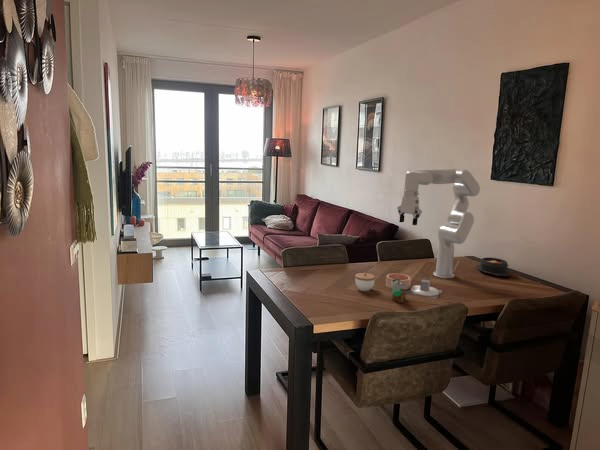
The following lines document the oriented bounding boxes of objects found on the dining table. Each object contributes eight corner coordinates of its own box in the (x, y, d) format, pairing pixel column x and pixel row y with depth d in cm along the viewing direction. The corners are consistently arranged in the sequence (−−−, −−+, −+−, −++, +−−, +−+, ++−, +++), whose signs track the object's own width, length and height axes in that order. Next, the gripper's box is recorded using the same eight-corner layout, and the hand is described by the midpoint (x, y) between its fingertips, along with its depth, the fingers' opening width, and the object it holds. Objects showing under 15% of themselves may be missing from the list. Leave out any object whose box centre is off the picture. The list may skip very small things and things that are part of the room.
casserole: (518, 278, 270) (520, 265, 269) (492, 279, 266) (494, 266, 265) (492, 267, 294) (494, 255, 293) (468, 267, 290) (469, 255, 289)
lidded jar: (373, 293, 232) (374, 276, 230) (353, 291, 234) (354, 274, 232) (374, 287, 242) (375, 271, 241) (355, 285, 245) (356, 269, 243)
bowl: (390, 282, 253) (391, 272, 252) (412, 286, 246) (413, 276, 245) (382, 287, 242) (383, 277, 241) (405, 292, 235) (406, 282, 234)
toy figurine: (386, 295, 229) (388, 277, 227) (398, 296, 230) (399, 277, 228) (393, 304, 217) (395, 285, 215) (405, 304, 217) (407, 285, 216)
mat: (414, 285, 247) (414, 284, 247) (442, 291, 239) (443, 290, 239) (405, 293, 234) (405, 292, 234) (435, 299, 226) (435, 298, 226)
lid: (414, 285, 247) (415, 275, 245) (441, 290, 239) (442, 280, 238) (406, 292, 234) (407, 281, 233) (435, 298, 226) (436, 287, 225)
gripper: (427, 195, 239) (424, 225, 242) (403, 191, 253) (401, 220, 256) (418, 195, 235) (415, 226, 238) (394, 192, 249) (392, 221, 252)
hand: (408, 223), depth 247 cm, fingers open, 9 cm apart
